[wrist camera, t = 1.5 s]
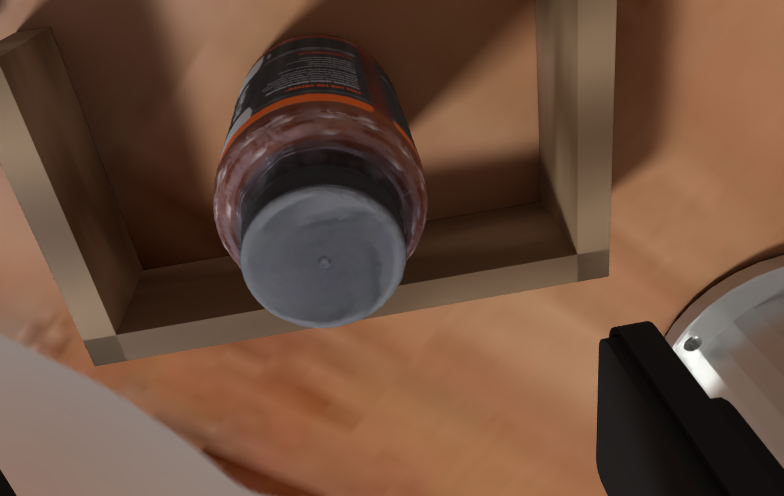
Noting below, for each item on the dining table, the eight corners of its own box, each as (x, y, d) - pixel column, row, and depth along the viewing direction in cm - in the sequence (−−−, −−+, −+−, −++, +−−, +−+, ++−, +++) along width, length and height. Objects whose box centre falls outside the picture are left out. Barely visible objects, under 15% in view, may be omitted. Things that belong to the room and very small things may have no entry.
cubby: (568, 221, 29) (608, 276, 25) (124, 298, 29) (95, 366, 25) (567, -58, 24) (618, -44, 20) (15, 32, 23) (-46, 65, 19)
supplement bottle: (206, 80, 25) (137, 219, 15) (348, -1, 24) (375, 90, 14) (292, 207, 27) (282, 395, 18) (422, 139, 27) (487, 296, 17)
